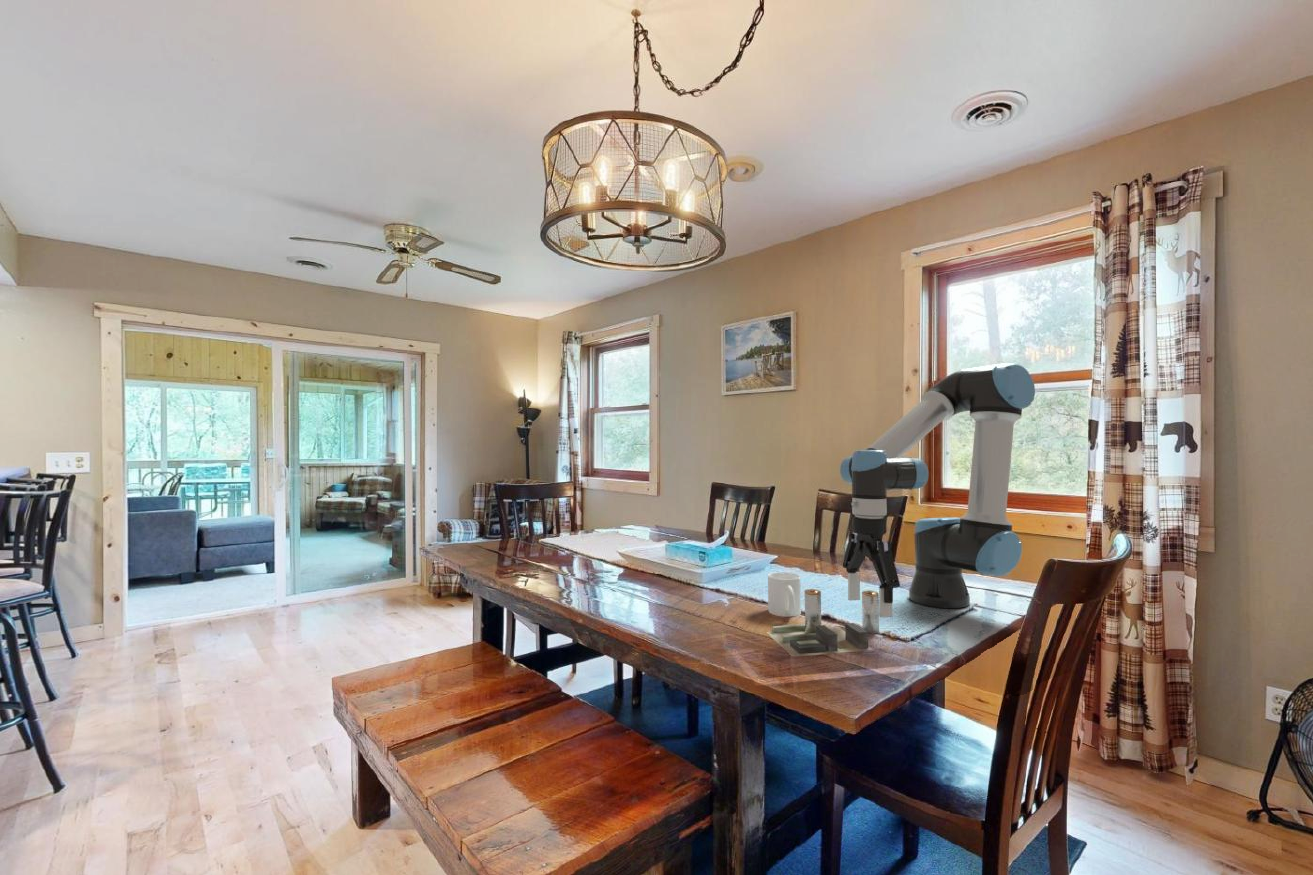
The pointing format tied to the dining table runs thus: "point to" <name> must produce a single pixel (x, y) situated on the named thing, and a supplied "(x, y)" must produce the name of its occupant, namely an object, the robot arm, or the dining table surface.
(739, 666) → the dining table surface
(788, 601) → the mug
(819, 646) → the grey battery holder
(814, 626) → the cell
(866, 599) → the cylinder
